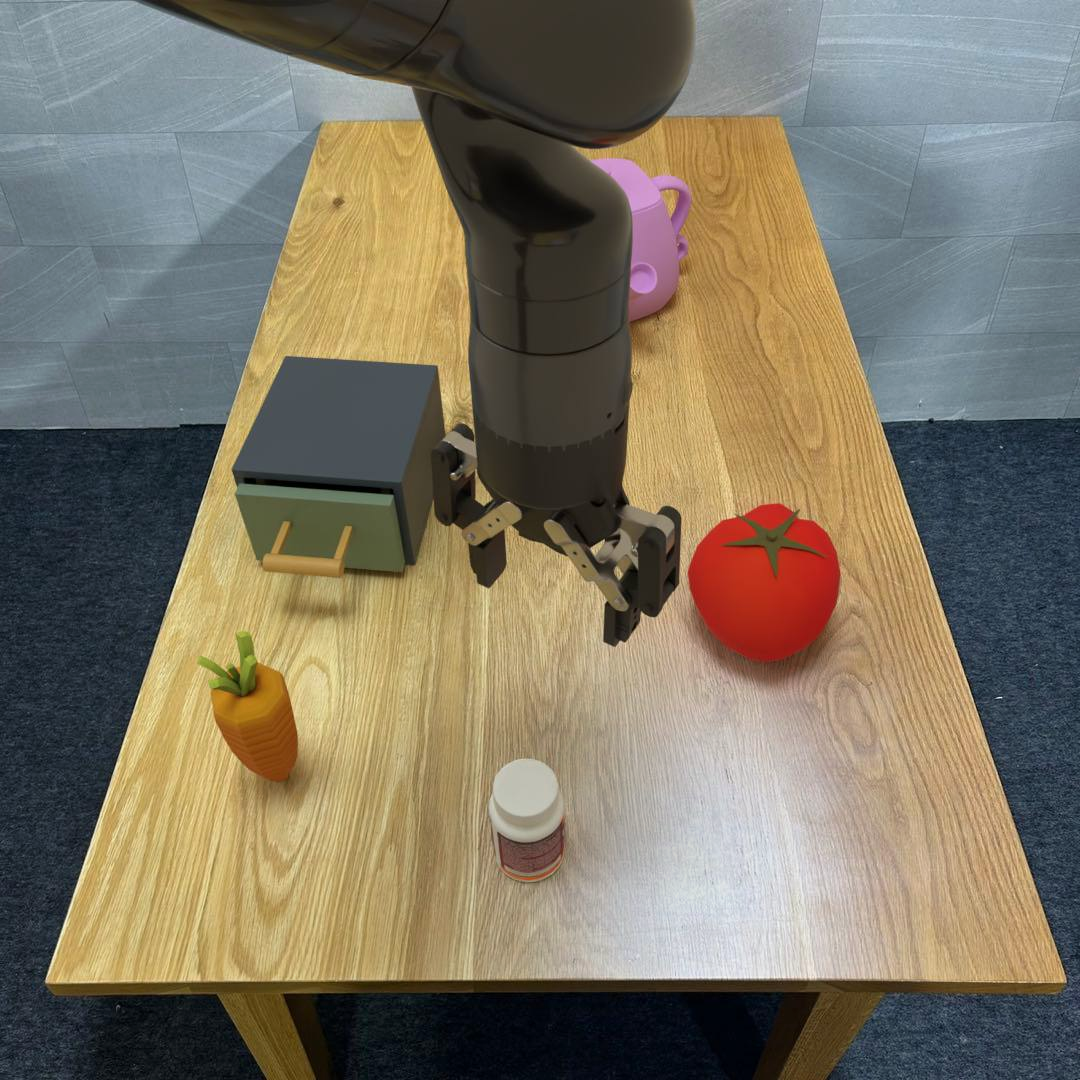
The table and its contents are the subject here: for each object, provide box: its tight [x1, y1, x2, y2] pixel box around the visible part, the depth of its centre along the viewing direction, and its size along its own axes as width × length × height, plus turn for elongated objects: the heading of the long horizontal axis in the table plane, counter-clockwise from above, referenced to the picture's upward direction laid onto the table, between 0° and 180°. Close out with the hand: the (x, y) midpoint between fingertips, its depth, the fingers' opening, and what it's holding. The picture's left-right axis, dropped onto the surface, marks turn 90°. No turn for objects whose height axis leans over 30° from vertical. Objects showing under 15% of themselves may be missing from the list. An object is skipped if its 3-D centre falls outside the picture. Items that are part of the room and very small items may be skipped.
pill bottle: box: [487, 758, 566, 883], centre depth 66 cm, size 5×5×8 cm
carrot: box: [197, 630, 299, 783], centre depth 67 cm, size 5×5×15 cm
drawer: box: [234, 478, 406, 579], centre depth 85 cm, size 18×12×8 cm
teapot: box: [589, 158, 693, 323], centre depth 108 cm, size 19×21×14 cm
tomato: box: [687, 502, 841, 663], centre depth 78 cm, size 11×13×10 cm
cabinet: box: [231, 355, 447, 566], centre depth 88 cm, size 15×14×10 cm
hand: (553, 605), depth 61 cm, fingers open, 8 cm apart
